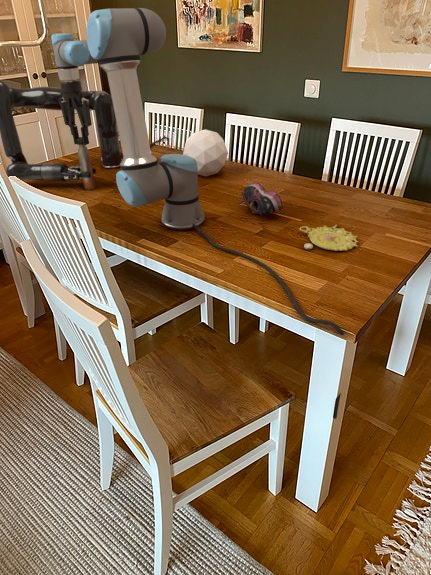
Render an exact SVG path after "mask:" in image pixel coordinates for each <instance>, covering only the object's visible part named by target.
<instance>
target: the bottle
mask: <svg viewBox="0 0 431 575" xmlns="http://www.w3.org/2000/svg"><path fill="white" fill-rule="evenodd" d="M77 156H78V164H79V165H80V169H81V172H91V175H92V177H91V178H81V180H82V184H83V188H84V190H88V191H89V190H94V189H96V180H95V174H93V169H92V168H93V164H92V159H91V158H92V157H91V153H90V150H89V149H88V147H87V145H78V149H77Z"/></svg>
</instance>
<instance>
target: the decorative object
mask: <svg viewBox="0 0 431 575" xmlns="http://www.w3.org/2000/svg"><path fill="white" fill-rule="evenodd" d="M303 228H304V229H305V230H304V229H303ZM299 231H300V232H303V233H305V234H307V237H308V238H309V240H310V241H311V243H304V244H303V248H304V249H305V250H313V249H314V245H315V246H316V247H318V248H321V249H324V250H328V251H335V252H341V251H348V250H352V249H354V247H356V248H358V247H359V245H358V244H357V243H359V240H357V238H359V237H358V235H353V234H352V231H347V230H346V229H345V228H344V227H342V228H338V224H335V225H333V226H331V227H328V226H327V225H326V224H325V225H323V226H322V227H321V226H317V227H316V228H314V227H309V226H308V225H302V226H300V227H299ZM313 244H314V245H313Z"/></svg>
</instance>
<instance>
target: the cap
mask: <svg viewBox="0 0 431 575" xmlns="http://www.w3.org/2000/svg"><path fill="white" fill-rule="evenodd" d="M76 143H77V144H76V145H77V146H79V145H84V144H83V139H82V136H79V137H78V138H76Z"/></svg>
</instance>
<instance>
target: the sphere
mask: <svg viewBox="0 0 431 575" xmlns="http://www.w3.org/2000/svg"><path fill="white" fill-rule="evenodd" d="M228 154H229V151H228V148H227V146H226V143H225V140H224V139H223V137H222V136H221V135H220V134H219V133H218V132H216V131H213V130H210V129H206V128H205V129H202V130H199V131H196V132H192V134H191V135H190V136H189V137H188V138H187V139H186V141H185V143H184V148H183V152H182V155H186V156H190V157H192V158H194V159H195V160H196V163H197V169H198V175H199V176H202V177H209V176H212V175H216V174H218V173H219V172H220V171H221V170H222V168H223V167H224V166H225V164H226V160H227V158H228Z"/></svg>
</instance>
